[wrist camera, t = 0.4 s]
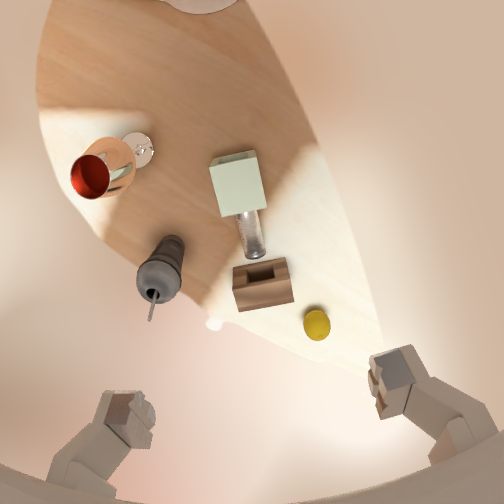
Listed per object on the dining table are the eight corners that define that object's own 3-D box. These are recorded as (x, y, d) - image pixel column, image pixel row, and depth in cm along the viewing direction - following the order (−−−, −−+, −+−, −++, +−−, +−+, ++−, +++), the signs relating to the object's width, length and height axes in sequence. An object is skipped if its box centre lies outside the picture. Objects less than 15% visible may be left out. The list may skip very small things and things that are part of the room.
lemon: (306, 300, 64) (313, 325, 57) (329, 305, 64) (338, 330, 57) (296, 320, 66) (302, 345, 59) (319, 324, 67) (326, 349, 60)
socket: (233, 267, 59) (232, 290, 53) (285, 257, 59) (290, 278, 52) (239, 288, 62) (239, 312, 55) (288, 279, 61) (294, 301, 54)
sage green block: (213, 158, 49) (208, 167, 43) (254, 149, 49) (256, 156, 43) (224, 202, 53) (221, 217, 47) (264, 194, 53) (267, 207, 47)
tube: (223, 164, 48) (222, 169, 45) (246, 159, 48) (246, 164, 45) (245, 250, 55) (245, 261, 52) (265, 247, 55) (266, 256, 52)
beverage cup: (184, 223, 55) (158, 287, 37) (197, 258, 58) (179, 329, 40) (148, 233, 55) (111, 297, 38) (162, 266, 59) (134, 336, 41)
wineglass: (145, 118, 46) (98, 130, 30) (167, 159, 49) (132, 189, 33) (107, 142, 47) (52, 166, 31) (128, 181, 51) (83, 220, 35)
